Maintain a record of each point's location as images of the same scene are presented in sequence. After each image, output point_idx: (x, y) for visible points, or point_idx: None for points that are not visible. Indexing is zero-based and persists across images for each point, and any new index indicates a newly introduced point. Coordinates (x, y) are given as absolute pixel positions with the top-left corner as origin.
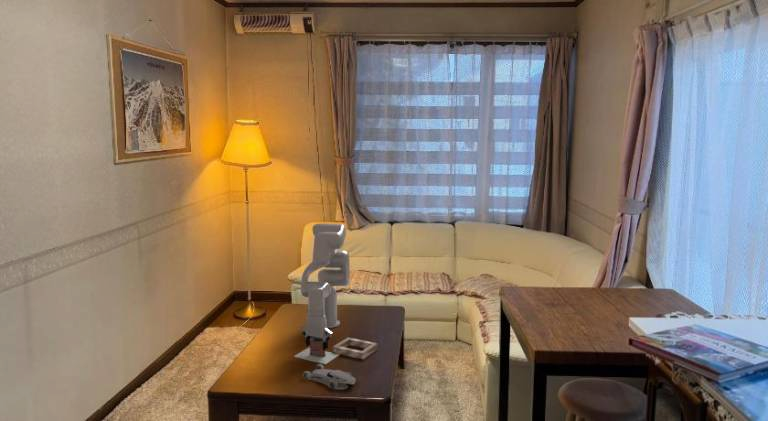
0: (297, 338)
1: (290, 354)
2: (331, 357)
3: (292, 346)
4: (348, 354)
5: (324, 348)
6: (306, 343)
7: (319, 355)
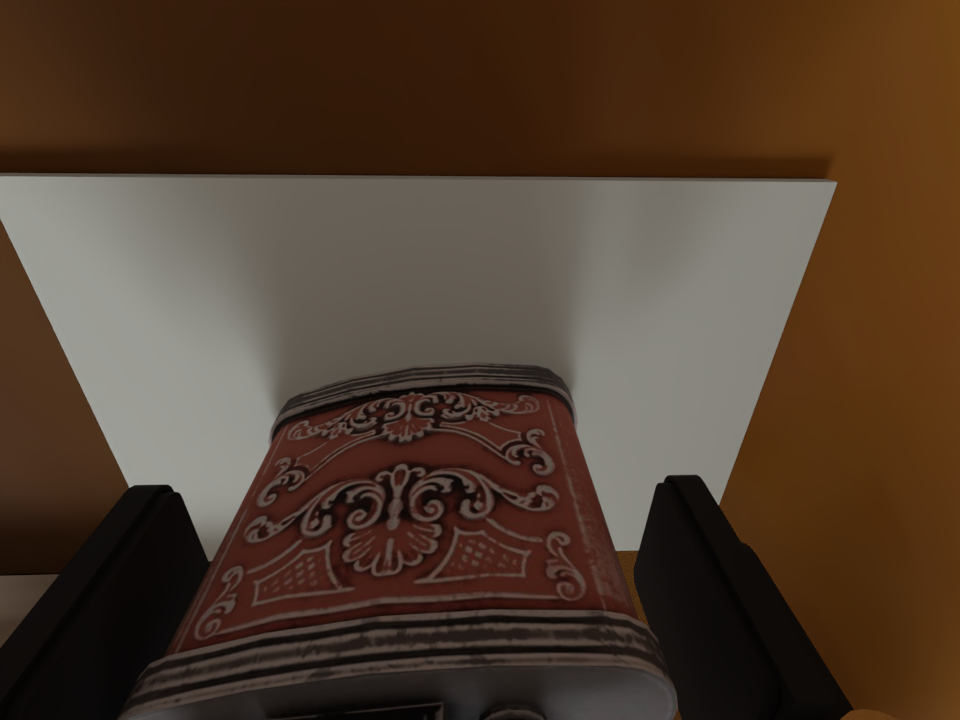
0: (933, 651)
1: (928, 249)
2: (166, 446)
3: (955, 492)
4: (33, 598)
5: (121, 525)
6: (716, 528)
7: (344, 394)
